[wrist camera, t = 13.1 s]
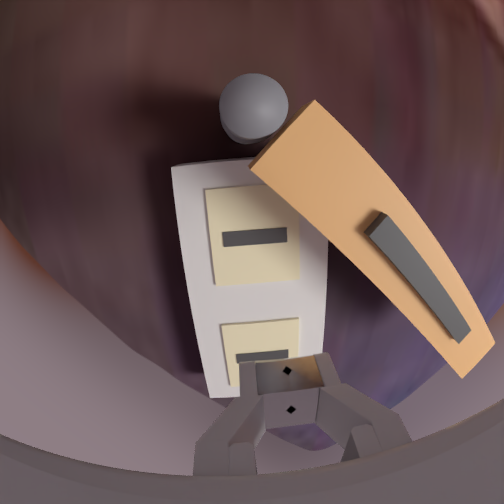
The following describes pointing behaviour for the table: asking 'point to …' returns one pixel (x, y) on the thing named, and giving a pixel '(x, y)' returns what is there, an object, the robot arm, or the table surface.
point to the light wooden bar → (358, 213)
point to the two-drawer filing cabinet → (247, 269)
